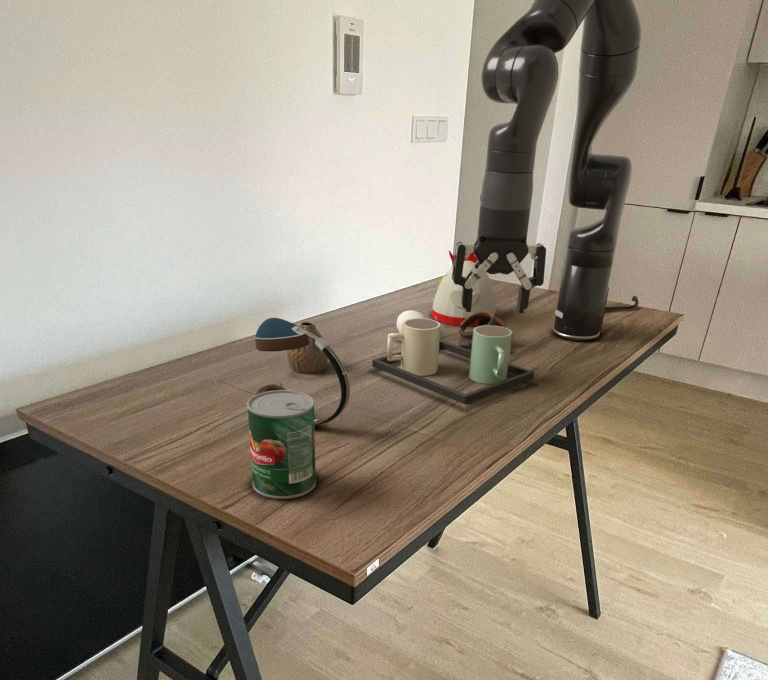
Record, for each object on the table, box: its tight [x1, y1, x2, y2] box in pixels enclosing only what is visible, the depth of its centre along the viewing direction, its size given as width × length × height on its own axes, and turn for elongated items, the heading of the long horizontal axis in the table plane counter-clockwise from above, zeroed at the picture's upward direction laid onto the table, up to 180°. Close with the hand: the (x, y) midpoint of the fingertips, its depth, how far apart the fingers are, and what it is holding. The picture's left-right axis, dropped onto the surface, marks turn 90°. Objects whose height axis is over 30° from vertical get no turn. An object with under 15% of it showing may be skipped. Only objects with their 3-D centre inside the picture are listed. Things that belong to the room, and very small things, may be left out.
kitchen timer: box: [431, 249, 497, 327], centre depth 151 cm, size 14×14×15 cm
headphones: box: [218, 317, 351, 427], centre depth 101 cm, size 6×15×22 cm
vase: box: [286, 321, 329, 375], centre depth 120 cm, size 7×7×9 cm
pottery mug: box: [458, 311, 508, 348], centre depth 135 cm, size 12×10×8 cm
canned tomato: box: [246, 389, 317, 500], centre depth 86 cm, size 8×8×11 cm
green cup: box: [468, 325, 513, 385], centre depth 117 cm, size 9×6×8 cm
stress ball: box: [396, 309, 428, 333], centre depth 139 cm, size 8×8×7 cm
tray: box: [371, 339, 535, 405], centre depth 121 cm, size 18×22×2 cm
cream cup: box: [386, 318, 442, 377], centre depth 120 cm, size 9×6×8 cm
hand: (494, 311), depth 114 cm, fingers open, 8 cm apart
